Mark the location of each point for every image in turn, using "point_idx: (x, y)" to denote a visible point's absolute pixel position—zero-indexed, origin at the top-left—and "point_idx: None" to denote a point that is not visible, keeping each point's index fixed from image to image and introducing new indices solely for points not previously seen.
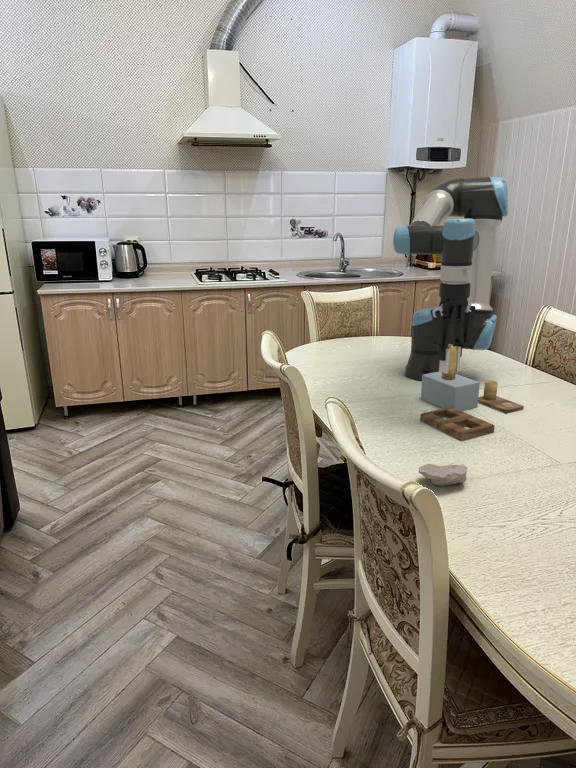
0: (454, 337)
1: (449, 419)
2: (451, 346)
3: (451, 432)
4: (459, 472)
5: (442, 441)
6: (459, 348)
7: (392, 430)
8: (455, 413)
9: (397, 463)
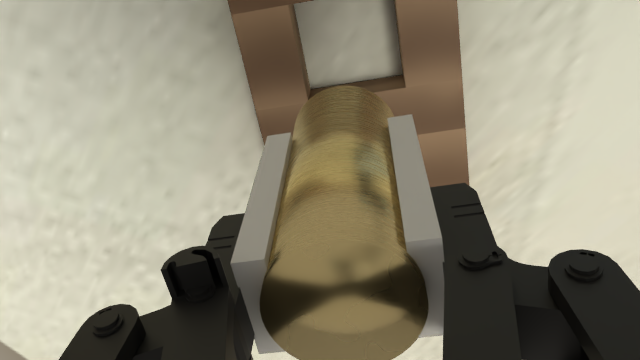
0: (444, 331)
1: None
2: (326, 344)
3: None
4: None
5: (221, 211)
6: (430, 326)
7: (52, 46)
8: (404, 51)
9: (3, 293)
